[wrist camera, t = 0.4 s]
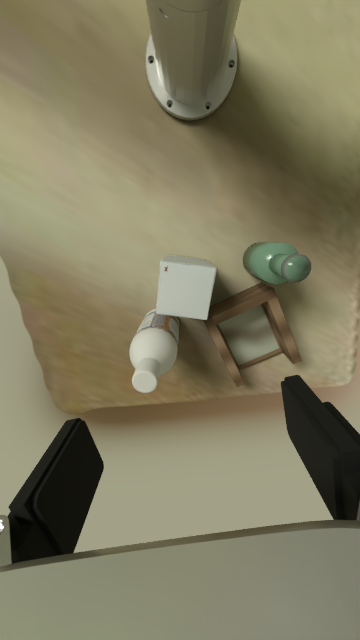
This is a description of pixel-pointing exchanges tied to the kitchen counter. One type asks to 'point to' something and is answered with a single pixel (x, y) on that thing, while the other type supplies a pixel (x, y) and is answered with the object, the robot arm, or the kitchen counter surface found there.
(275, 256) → the green bottle
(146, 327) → the bath foam
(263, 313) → the walnut U-rest
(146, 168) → the kitchen counter surface
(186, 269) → the supplement box
